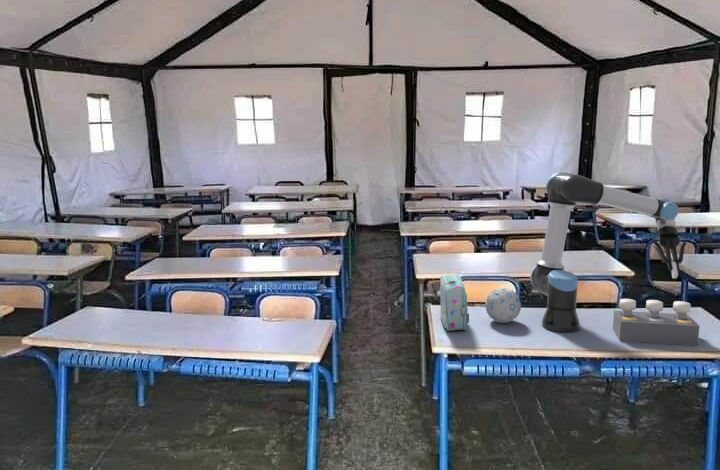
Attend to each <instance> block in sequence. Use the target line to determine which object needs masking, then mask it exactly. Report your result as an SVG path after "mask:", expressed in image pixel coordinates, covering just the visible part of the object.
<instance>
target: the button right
mask: <svg viewBox="0 0 720 470" xmlns="http://www.w3.org/2000/svg"><path fill="white" fill-rule="evenodd" d="M691 305H692V303H690V302H687V301H684V300H683V301H682V300H681V301H680V300H676V301H673V304H672V310H673V312H675V314H676V317H675V318H676V319H684V320H686V315H687V314H688V313H690V312H691V307H692V306H691Z"/></svg>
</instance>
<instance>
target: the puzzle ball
mask: <svg viewBox="0 0 720 470" xmlns="http://www.w3.org/2000/svg"><path fill="white" fill-rule="evenodd" d="M484 304H485V309H486V313H487V314H488V317H490V319H492V320H493V321H495V322H497V323H501V324H508V323H509V322H512V321H513V320H515V319H516V318H518V317H519V314H520V313H521V308H522V305H521V304H522V303H521V299H520V298H519V296H518V295H517V293H516V292H514V291H513V290H511V289H508V288H502V287H501V288H497V289H494V290H492V291H490V293H489V294H488V296H487V297H486V299H485V303H484Z"/></svg>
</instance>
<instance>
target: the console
mask: <svg viewBox="0 0 720 470" xmlns="http://www.w3.org/2000/svg"><path fill="white" fill-rule="evenodd" d="M675 317H676V313H669V312H668V313H666V312H659V318H649V311H648V312H647V311H632V317H628V316H622V310H613V320H612V321H613V322H612V330H613V332H614V333H615V335H616V338H617V339H618V340H619V341H620V342H632V343H633V342H634V343H648V344H649V343H650V344H664V345H666V344H667V345H679V346H682V345H683V346H698V345H699V335H700V325H699V324H698V322H696V321H695V320H694V319H693V317H692V316H690V315H689V314H688V313H687V315H686V320H684V319H676V318H675Z"/></svg>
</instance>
